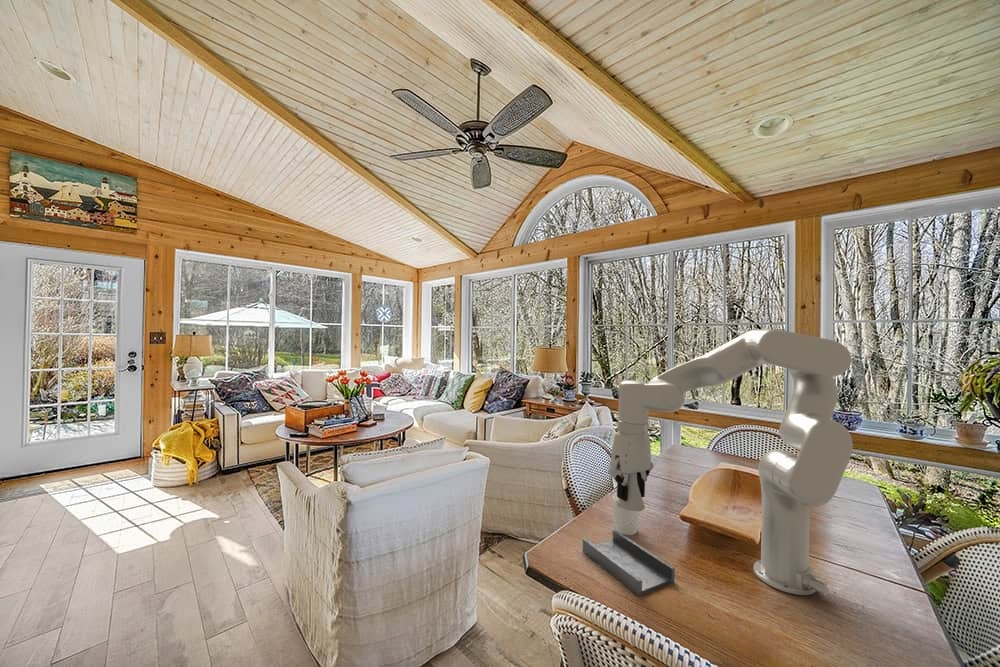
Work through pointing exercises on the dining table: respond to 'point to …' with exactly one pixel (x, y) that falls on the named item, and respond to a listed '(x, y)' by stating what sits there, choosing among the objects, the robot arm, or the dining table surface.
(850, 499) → the dining table surface
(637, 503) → the flask
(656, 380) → the robot arm
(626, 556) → the track
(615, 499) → the white cup
